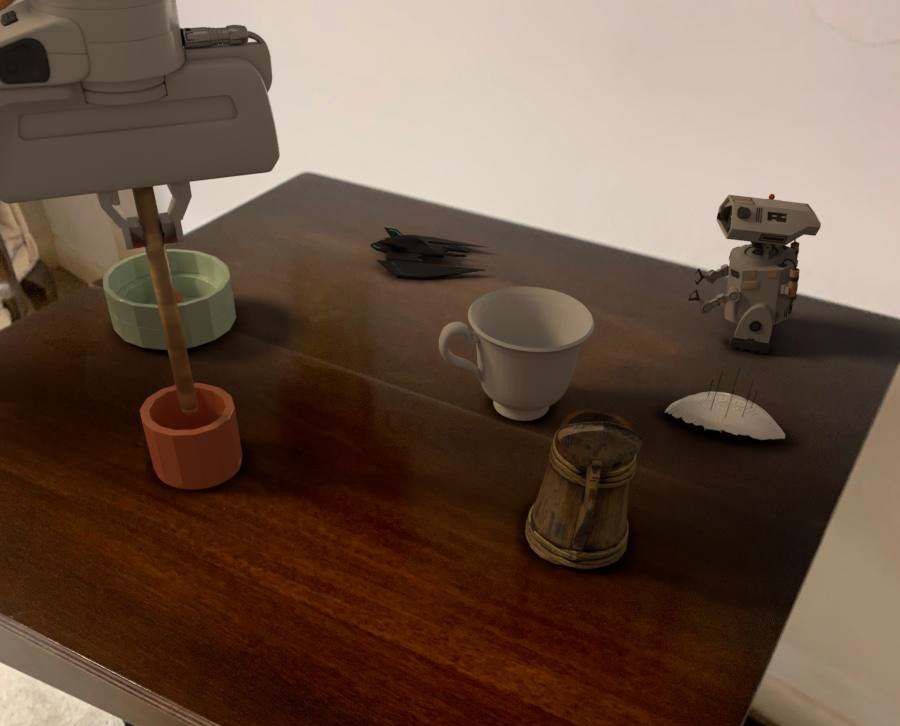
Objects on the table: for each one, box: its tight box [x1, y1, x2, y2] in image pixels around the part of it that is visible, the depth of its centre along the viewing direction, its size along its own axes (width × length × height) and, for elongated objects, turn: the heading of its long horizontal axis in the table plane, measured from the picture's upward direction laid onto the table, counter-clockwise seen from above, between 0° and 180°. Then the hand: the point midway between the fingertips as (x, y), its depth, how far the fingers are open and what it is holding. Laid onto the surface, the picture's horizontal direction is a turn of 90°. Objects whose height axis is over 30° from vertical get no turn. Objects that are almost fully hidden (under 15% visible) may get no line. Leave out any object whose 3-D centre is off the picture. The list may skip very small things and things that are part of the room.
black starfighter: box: [370, 226, 490, 280], centre depth 112 cm, size 11×15×3 cm
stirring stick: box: [131, 186, 198, 415], centre depth 70 cm, size 2×2×20 cm
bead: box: [157, 290, 185, 305], centre depth 98 cm, size 3×3×3 cm
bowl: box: [102, 248, 237, 351], centre depth 97 cm, size 13×13×6 cm
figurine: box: [688, 193, 822, 355], centre depth 98 cm, size 9×12×15 cm
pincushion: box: [664, 368, 786, 441], centre depth 88 cm, size 12×6×6 cm, turn 69°
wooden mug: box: [524, 408, 644, 571], centre depth 69 cm, size 9×14×18 cm, turn 169°
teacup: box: [438, 285, 595, 422], centre depth 87 cm, size 12×15×10 cm
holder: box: [139, 382, 243, 491], centre depth 80 cm, size 8×8×6 cm
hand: (153, 243), depth 67 cm, fingers closed on stirring stick, 1 cm apart
